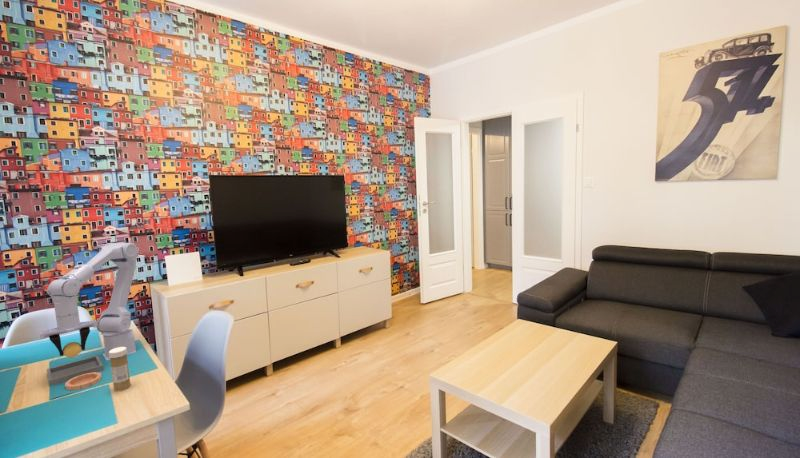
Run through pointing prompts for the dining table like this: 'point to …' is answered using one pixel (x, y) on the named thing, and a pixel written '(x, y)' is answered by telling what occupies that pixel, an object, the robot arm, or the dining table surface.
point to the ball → (72, 349)
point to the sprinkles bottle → (119, 368)
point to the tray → (74, 370)
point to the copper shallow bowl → (83, 381)
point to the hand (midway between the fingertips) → (72, 352)
